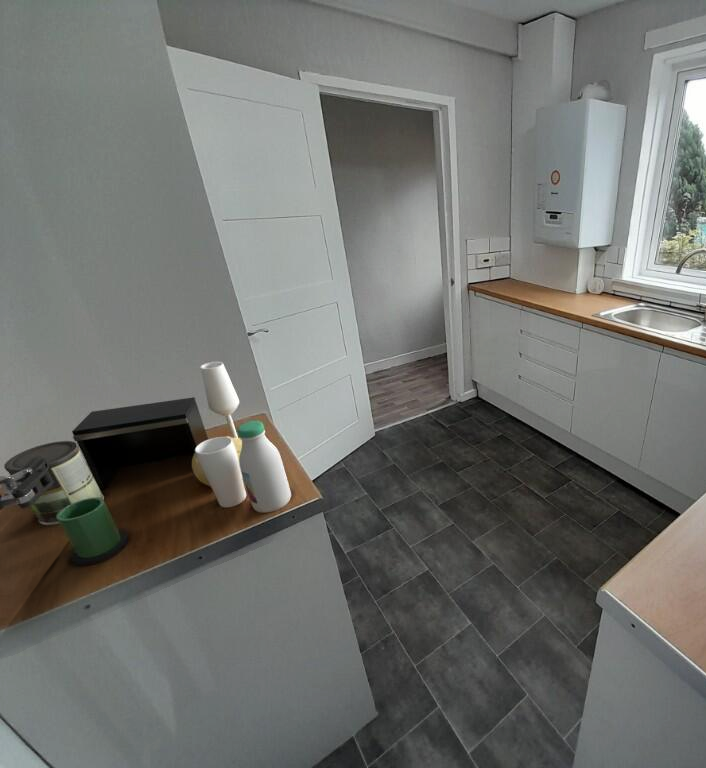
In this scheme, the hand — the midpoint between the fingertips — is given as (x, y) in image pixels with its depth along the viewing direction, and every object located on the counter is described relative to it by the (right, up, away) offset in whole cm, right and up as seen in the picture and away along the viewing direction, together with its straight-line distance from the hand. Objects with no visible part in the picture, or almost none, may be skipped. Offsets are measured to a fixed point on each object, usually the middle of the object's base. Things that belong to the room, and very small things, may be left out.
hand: (1, 468), depth 59 cm
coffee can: (-22, -15, +30) cm, 40 cm away
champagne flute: (-2, -5, +54) cm, 54 cm away
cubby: (-14, -9, +43) cm, 46 cm away
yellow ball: (+5, -11, +40) cm, 42 cm away
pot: (-5, -19, +19) cm, 27 cm away
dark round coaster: (-5, -20, +20) cm, 28 cm away
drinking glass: (+11, -14, +33) cm, 38 cm away
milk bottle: (+20, -15, +33) cm, 41 cm away
